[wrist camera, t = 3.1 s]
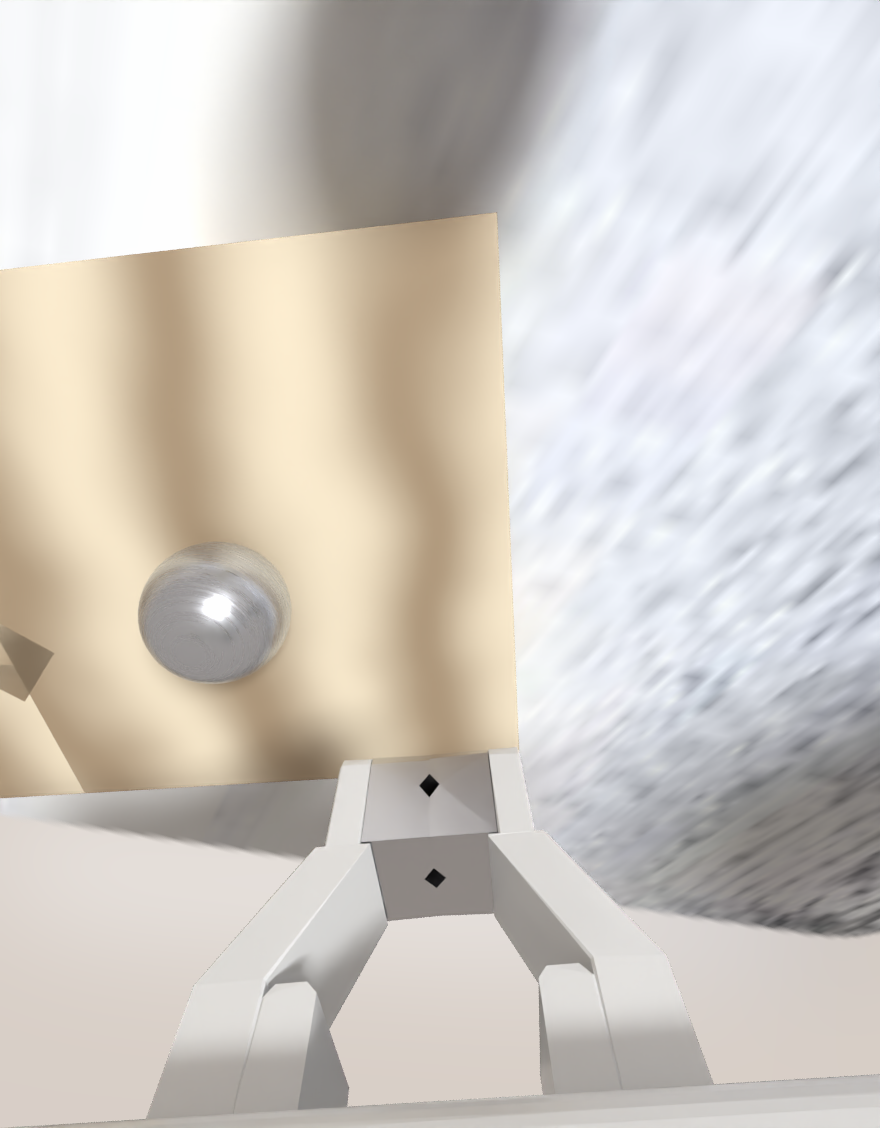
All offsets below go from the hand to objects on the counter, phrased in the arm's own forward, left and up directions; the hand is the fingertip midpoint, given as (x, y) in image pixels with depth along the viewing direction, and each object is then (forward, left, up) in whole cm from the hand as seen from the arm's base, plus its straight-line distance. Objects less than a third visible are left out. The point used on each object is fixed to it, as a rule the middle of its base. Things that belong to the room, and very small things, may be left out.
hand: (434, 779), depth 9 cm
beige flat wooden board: (+11, 0, -11) cm, 15 cm away
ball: (+6, 0, -6) cm, 9 cm away
